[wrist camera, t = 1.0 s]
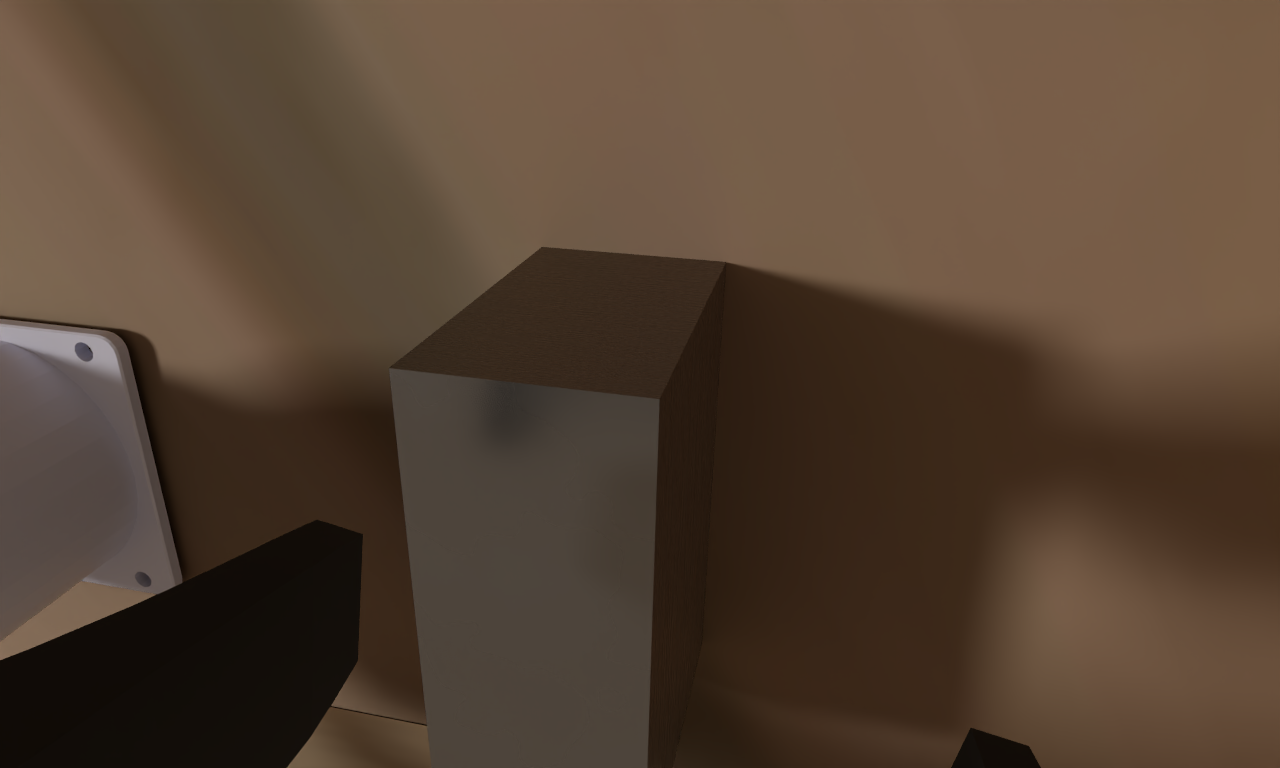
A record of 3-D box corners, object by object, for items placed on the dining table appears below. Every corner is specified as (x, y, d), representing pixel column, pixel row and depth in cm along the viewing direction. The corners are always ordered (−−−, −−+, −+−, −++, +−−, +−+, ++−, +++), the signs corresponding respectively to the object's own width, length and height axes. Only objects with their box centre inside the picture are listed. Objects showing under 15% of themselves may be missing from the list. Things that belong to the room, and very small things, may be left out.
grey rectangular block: (552, 615, 23) (440, 846, 17) (543, 245, 19) (389, 368, 13) (702, 640, 22) (643, 892, 16) (726, 260, 18) (659, 398, 12)
